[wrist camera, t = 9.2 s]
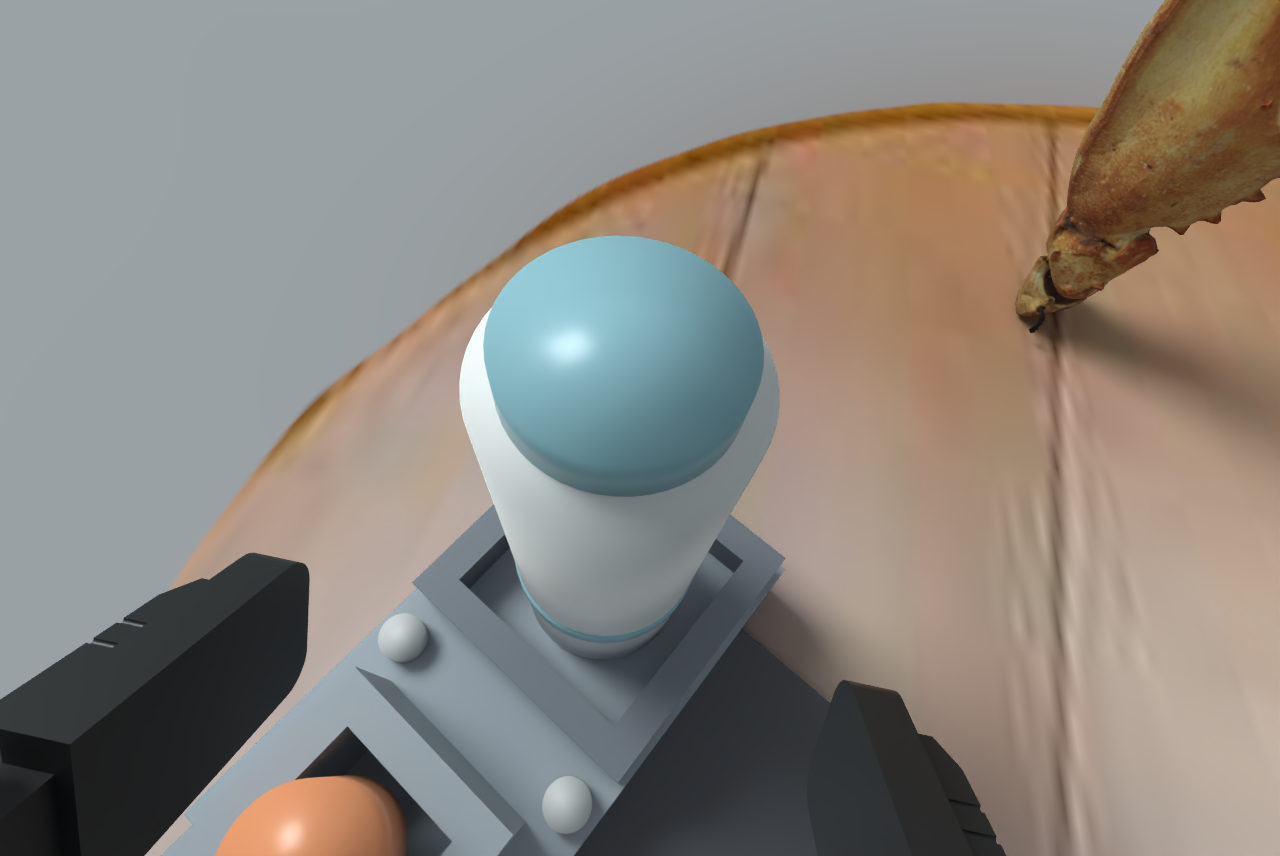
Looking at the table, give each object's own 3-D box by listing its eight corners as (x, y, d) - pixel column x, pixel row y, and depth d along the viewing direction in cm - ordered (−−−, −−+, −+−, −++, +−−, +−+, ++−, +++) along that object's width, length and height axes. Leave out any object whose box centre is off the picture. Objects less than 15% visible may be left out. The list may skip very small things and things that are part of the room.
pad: (737, 627, 23) (738, 626, 23) (977, 830, 21) (981, 830, 21) (549, 879, 19) (548, 880, 19) (819, 1167, 17) (821, 1171, 17)
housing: (593, 445, 26) (594, 367, 21) (767, 586, 24) (817, 538, 19) (228, 807, 20) (97, 825, 14) (423, 1049, 18) (352, 1175, 12)
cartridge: (597, 483, 23) (609, 164, 11) (708, 574, 22) (867, 333, 9) (495, 589, 21) (364, 347, 9) (610, 696, 20) (649, 594, 7)
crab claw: (932, 309, 31) (1377, -269, 14) (963, 246, 34) (1380, -323, 16) (1069, 375, 30) (1754, -169, 12) (1091, 305, 32) (1701, -243, 15)
